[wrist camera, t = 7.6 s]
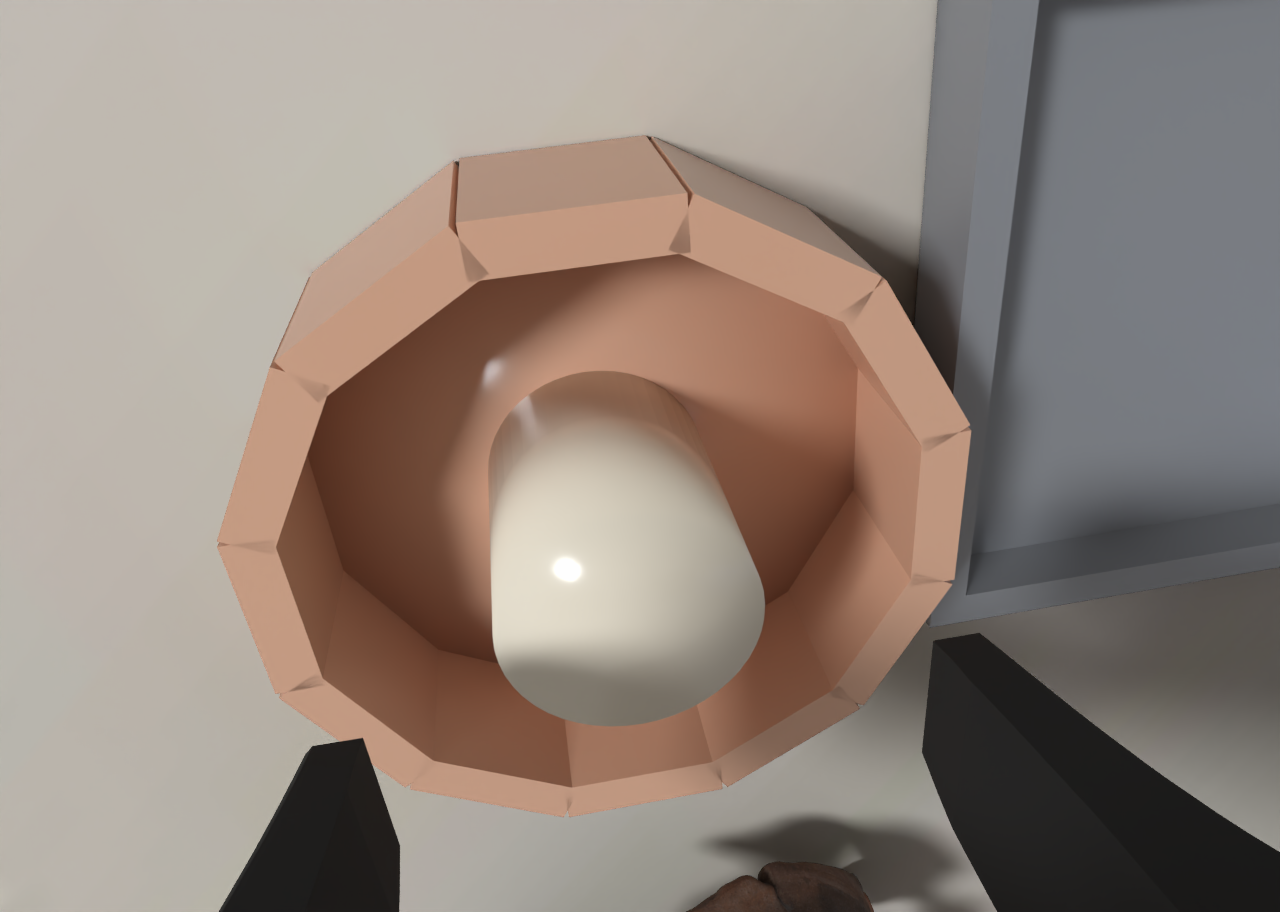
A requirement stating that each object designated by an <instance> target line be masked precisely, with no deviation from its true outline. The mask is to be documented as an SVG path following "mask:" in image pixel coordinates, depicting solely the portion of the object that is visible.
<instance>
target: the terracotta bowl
mask: <svg viewBox="0 0 1280 912" xmlns="http://www.w3.org/2000/svg"><path fill="white" fill-rule="evenodd" d="M588 371H616V372H622V373H629V374H632V375H635V376H639V377H642V378H644V379H647V380H649V381H651V382H654V383H655V384H657V385H659V386H660V387H662V388H664V389H665V390H667V391H668V392H669V393H670V394H672V395H673V396H674V397H675V398H676V399H677V400H678V401H679V402H680V403H681V404H682V405H683V406H684V407H685V409H686V410H687V412H688V413H689V415H690V416H691V418H692V420H693V422H694V424H695V426H696V428H697V430H698V433H699V435H700V437H701V440H702V442H703V445H704V447H705V449H706V452H707V454H708V456H709V459H710V461H711V463H712V466H713V468H714V470H715V473H716V475H717V478H718V480H719V482H720V485H721V487H722V489H723V492H724V494H725V496H726V499H727V501H728V503H729V506H730V508H731V511H732V513H733V515H734V518H735V520H736V522H737V525H738V527H739V529H740V532H741V534H742V536H743V539H744V541H745V544H746V546H747V548H748V551H749V553H750V555H751V558H752V560H753V562H754V565H755V567H756V570H757V572H758V574H759V577H760V579H761V583H762V587H763V590H764V598H765V616H764V622H763V627H762V631H761V634H760V637H759V639H758V642H757V644H756V646H755V648H754V650H753V652H752V654H751V655H750V657H749V659H748V660H747V661H746V663H745V664H744V665H743V667H742V668H741V670H740V671H739V672H738V673H737V674H736V675H735V676H734V677H733V678H732V679H731V680H730V681H729V682H728V683H727V684H726V685H725V686H723V687H722V688H721V689H720V690H719V691H718V692H716V693H715V694H713V695H712V696H710V697H709V698H707V699H706V700H704V701H703V702H701V703H699V704H697V705H695V706H694V707H692V708H690V709H687V710H685V711H683V712H681V713H678V714H676V715H673V716H670V717H667V718H664V719H661V720H657V721H653V722H648V723H644V724H637V725H629V726H594V725H588V724H582V723H576V722H573V721H569V720H565V719H562V718H559V717H557V716H555V715H552V714H550V713H547V712H546V711H544V710H542V709H540V708H538V707H537V706H535V705H533V704H532V703H531V702H529V701H528V700H527V699H525V698H524V697H523V696H522V695H521V694H520V693H519V692H518V691H517V690H516V689H515V688H514V687H513V686H512V685H511V683H510V682H509V681H508V679H507V678H506V677H505V675H504V673H503V671H502V669H501V667H500V665H499V663H498V660H497V657H496V654H495V651H494V643H493V633H492V596H491V560H490V524H489V488H488V461H489V455H490V450H491V446H492V443H493V440H494V437H495V435H496V433H497V431H498V429H499V427H500V425H501V424H502V422H503V421H504V419H505V418H506V417H507V415H508V414H509V412H510V411H511V410H512V409H513V408H514V407H515V406H516V405H517V404H518V403H519V402H520V401H521V400H523V399H524V398H525V397H526V396H528V395H529V394H530V393H532V392H533V391H535V390H536V389H538V388H540V387H541V386H543V385H545V384H547V383H549V382H551V381H554V380H556V379H559V378H562V377H565V376H568V375H571V374H576V373H581V372H588ZM968 426H970V424H969V422H968V420H967V418H966V417H965V415H964V413H963V412H962V410H961V408H960V406H959V405H958V403H957V401H956V400H955V398H954V396H953V394H952V393H951V391H950V389H949V387H948V386H947V384H946V382H945V381H944V379H943V377H942V375H941V374H940V372H939V370H938V368H937V367H936V365H935V363H934V362H933V360H932V358H931V356H930V355H929V353H928V351H927V350H926V348H925V346H924V344H923V343H922V341H921V339H920V337H919V336H918V334H917V332H916V331H915V329H914V327H913V325H912V324H911V322H910V320H909V318H908V317H907V315H906V313H905V312H904V310H903V308H902V306H901V305H900V303H899V301H898V299H897V298H896V296H895V294H894V293H893V291H892V289H891V287H890V286H889V284H888V282H887V281H886V280H885V279H884V278H883V277H882V276H881V275H880V274H879V273H878V272H876V271H875V270H874V269H873V268H872V267H871V266H870V265H869V264H868V263H867V262H866V261H865V260H864V259H862V258H861V257H860V256H859V255H858V254H857V253H856V252H855V251H854V250H853V249H852V248H851V247H849V246H848V245H847V244H846V243H845V242H844V241H843V240H842V239H841V238H840V237H839V236H838V235H836V234H835V233H834V232H833V231H832V230H831V229H830V228H829V227H828V226H827V225H826V224H825V223H823V222H822V221H821V220H820V219H819V218H818V217H817V216H816V215H815V214H814V213H813V212H812V211H810V210H809V209H808V208H807V207H805V206H803V205H801V204H799V203H796V202H794V201H792V200H790V199H788V198H785V197H783V196H781V195H779V194H777V193H775V192H772V191H770V190H768V189H766V188H764V187H761V186H759V185H757V184H755V183H753V182H751V181H748V180H746V179H744V178H742V177H740V176H738V175H735V174H733V173H731V172H729V171H727V170H724V169H722V168H720V167H718V166H716V165H714V164H711V163H709V162H707V161H705V160H703V159H700V158H698V157H696V156H694V155H692V154H690V153H687V152H685V151H683V150H681V149H679V148H676V147H674V146H672V145H670V144H668V143H666V142H663V141H661V140H659V139H657V138H655V137H651V139H650V141H649V139H648V138H647V137H646V135H644V136H636V137H627V138H619V139H611V140H603V141H595V142H587V143H579V144H571V145H562V146H554V147H546V148H538V149H530V150H522V151H514V152H506V153H497V154H489V155H481V156H473V157H465V158H459V167H458V166H457V164H456V163H455V162H454V161H452V162H451V163H450V164H449V165H447V166H446V167H445V168H444V169H442V170H441V171H440V172H438V173H437V174H436V175H435V176H433V177H432V178H431V179H430V180H428V181H427V182H426V183H425V184H423V185H422V186H421V187H420V188H418V189H417V190H416V191H415V192H413V193H412V194H411V195H409V196H408V197H407V198H406V199H404V200H403V201H402V202H401V203H399V204H398V205H397V206H396V207H394V208H393V209H392V210H391V211H389V212H388V213H387V214H386V215H384V216H383V217H382V218H380V219H379V220H378V221H377V222H375V223H374V224H373V225H372V226H370V227H369V228H368V229H367V230H365V231H364V232H363V233H362V234H360V235H359V236H358V237H357V238H355V239H354V240H353V241H351V242H350V243H349V244H348V245H346V246H345V247H344V248H343V249H341V250H340V251H339V252H338V253H336V254H335V255H334V256H333V257H331V258H330V259H329V260H328V261H326V262H325V263H324V264H322V265H321V266H320V267H319V268H317V269H316V270H315V271H314V272H312V275H311V277H309V279H308V281H307V283H306V286H305V288H304V290H303V292H302V295H301V297H300V299H299V302H298V304H297V306H296V309H295V311H294V313H293V315H292V318H291V320H290V322H289V325H288V327H287V329H286V331H285V334H284V336H283V338H282V341H281V343H280V345H279V347H278V350H277V352H276V354H275V357H274V359H273V361H272V363H271V366H270V368H269V372H268V375H267V378H266V382H265V385H264V388H263V391H262V395H261V398H260V401H259V405H258V408H257V411H256V414H255V418H254V421H253V424H252V428H251V431H250V434H249V437H248V441H247V444H246V447H245V451H244V454H243V457H242V460H241V464H240V467H239V470H238V474H237V477H236V480H235V483H234V487H233V490H232V493H231V497H230V500H229V503H228V506H227V510H226V513H225V516H224V520H223V523H222V526H221V529H220V533H219V536H218V539H217V542H219V544H218V546H217V548H218V550H219V553H220V555H221V558H222V560H223V563H224V565H225V568H226V570H227V573H228V575H229V578H230V581H231V583H232V586H233V588H234V591H235V593H236V596H237V598H238V601H239V603H240V606H241V608H242V611H243V613H244V616H245V618H246V621H247V623H248V626H249V628H250V631H251V633H252V636H253V638H254V641H255V643H256V646H257V648H258V651H259V653H260V656H261V658H262V661H263V663H264V666H265V668H266V671H267V673H268V676H269V678H270V681H271V684H272V686H273V689H274V691H275V694H279V693H280V696H279V698H280V699H281V700H282V701H284V702H285V703H287V704H288V705H289V706H291V707H292V708H294V709H295V710H297V711H298V712H299V713H301V714H302V715H304V716H305V717H306V718H308V719H309V720H311V721H312V722H313V723H315V724H316V725H318V726H319V727H321V728H322V729H323V730H325V731H326V732H328V733H329V734H330V735H332V736H333V737H335V738H336V739H337V740H339V741H340V742H341V741H347V740H353V739H358V738H363V739H364V742H365V745H366V748H367V751H368V754H369V757H370V760H371V763H372V764H373V765H374V766H376V767H377V768H378V769H380V770H381V771H383V772H384V773H385V774H387V775H388V776H390V777H391V778H393V779H394V780H395V781H397V782H398V783H400V784H401V785H402V786H404V787H406V786H408V785H410V789H411V790H416V791H422V792H427V793H433V794H438V795H444V796H449V797H455V798H460V799H466V800H471V801H477V802H483V803H488V804H494V805H499V806H505V807H510V808H516V809H521V810H527V811H532V812H538V813H543V814H549V815H554V816H560V817H564V816H565V814H566V812H567V811H568V814H569V817H573V816H578V815H583V814H589V813H594V812H600V811H605V810H611V809H616V808H621V807H627V806H632V805H638V804H643V803H649V802H654V801H659V800H665V799H670V798H676V797H681V796H687V795H692V794H697V793H703V792H708V791H714V790H719V789H722V782H723V783H724V784H725V785H726V786H727V787H728V786H730V785H732V784H733V783H735V782H737V781H739V780H740V779H742V778H744V777H745V776H747V775H749V774H750V773H752V772H754V771H755V770H757V769H759V768H761V767H762V766H764V765H766V764H767V763H769V762H771V761H772V760H774V759H776V758H777V757H779V756H781V755H783V754H784V753H786V752H788V751H789V750H791V749H793V748H794V747H796V746H798V745H799V744H801V743H803V742H804V741H806V740H808V739H810V738H811V737H813V736H815V735H816V734H818V733H820V732H821V731H823V730H825V729H826V728H828V727H830V726H832V725H833V724H835V723H837V722H838V721H840V720H842V719H843V718H845V717H847V716H848V715H850V714H852V713H854V712H855V711H857V710H859V709H860V708H859V706H858V704H861V705H864V704H865V703H866V702H867V700H868V699H869V697H870V696H871V695H872V693H873V692H874V691H875V689H876V688H877V687H878V685H879V684H880V682H881V681H882V680H883V678H884V677H885V676H886V674H887V673H888V672H889V670H890V669H891V667H892V666H893V665H894V663H895V662H896V661H897V659H898V658H899V657H900V655H901V654H902V652H903V651H904V650H905V648H906V647H907V646H908V644H909V643H910V642H911V640H912V639H913V637H914V636H915V635H916V633H917V632H918V631H919V629H920V628H921V627H922V625H923V624H924V622H925V621H926V620H927V618H928V617H929V616H930V614H931V613H932V612H933V610H934V609H935V607H936V606H937V605H938V603H939V602H940V601H941V599H942V598H943V597H944V595H945V594H946V592H947V591H948V590H949V588H950V587H951V586H952V583H951V582H950V580H954V579H955V570H956V561H957V552H958V544H959V535H960V526H961V517H962V508H963V500H964V491H965V482H966V473H967V464H968V456H969V447H970V438H971V430H970V428H969V427H968Z"/></svg>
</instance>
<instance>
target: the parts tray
mask: <svg viewBox="0 0 1280 912" xmlns="http://www.w3.org/2000/svg"><path fill="white" fill-rule="evenodd" d="M914 329H915V331H916V332H917V334H918V336H919V337H920V339H921V341H922V343H923V344H924V346H925V348H926V350H927V351H928V353H929V355H930V356H931V358H932V360H933V362H934V363H935V365H936V367H937V368H938V370H939V372H940V374H941V375H942V377H943V379H944V381H945V382H946V384H947V386H948V387H949V389H950V391H951V393H952V394H953V396H954V398H955V400H956V401H957V403H958V405H959V406H960V408H961V410H962V412H963V413H964V415H965V417H966V418H967V420H968V422H969V424H970V426H968V427H969V428H970V430H971V438H970V447H969V456H968V464H967V473H966V482H965V491H964V500H963V508H962V517H961V526H960V535H959V544H958V552H957V561H956V570H955V579H954V580H950V582H951V583H952V586H951V587H950V588H949V590H948V591H947V592H946V594H945V595H944V597H943V598H942V599H941V601H940V602H939V603H938V605H937V606H936V607H935V609H934V610H933V612H932V613H931V614H930V616H929V617H928V618H927V620H926V622H927V624H928V625H929V627H930V628H931V627H937V626H942V625H948V624H954V623H960V622H966V621H971V620H977V619H983V618H989V617H995V616H1000V615H1006V614H1012V613H1018V612H1023V611H1029V610H1035V609H1041V608H1047V607H1052V606H1058V605H1064V604H1070V603H1076V602H1081V601H1087V600H1093V599H1099V598H1105V597H1110V596H1116V595H1122V594H1128V593H1133V592H1139V591H1145V590H1151V589H1157V588H1162V587H1168V586H1174V585H1180V584H1186V583H1191V582H1197V581H1203V580H1209V579H1215V578H1220V577H1226V576H1232V575H1238V574H1243V573H1249V572H1255V571H1261V570H1267V569H1272V568H1278V567H1280V0H938V5H937V18H936V32H935V46H934V60H933V74H932V88H931V101H930V115H929V129H928V143H927V157H926V171H925V184H924V198H923V212H922V226H921V240H920V254H919V267H918V281H917V295H916V309H915V323H914Z"/></svg>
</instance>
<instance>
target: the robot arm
mask: <svg viewBox="0 0 1280 912" xmlns="http://www.w3.org/2000/svg"><path fill="white" fill-rule="evenodd" d="M922 753H923V756H924V758H925V761H926V763H927V766H928V769H929V771H930V774H931V776H932V779H933V782H934V784H935V787H936V789H937V792H938V794H939V797H940V799H941V802H942V804H943V807H944V809H945V811H946V814H947V816H948V819H949V821H950V824H951V826H952V828H953V830H954V832H955V834H956V836H957V838H958V840H959V841H960V843H961V845H962V847H963V849H964V851H965V853H966V855H967V857H968V858H969V860H970V862H971V864H972V866H973V868H974V870H975V871H976V873H977V875H978V877H979V879H980V881H981V883H982V884H983V886H984V888H985V890H986V892H987V894H988V895H989V897H990V899H991V901H992V903H993V905H994V906H995V908H996V910H997V912H1280V852H1279V851H1277V850H1275V849H1274V848H1272V847H1270V846H1269V845H1267V844H1265V843H1264V842H1262V841H1260V840H1259V839H1257V838H1256V837H1254V836H1252V835H1251V834H1249V833H1247V832H1246V831H1244V830H1243V829H1241V828H1240V827H1238V826H1236V825H1235V824H1233V823H1232V822H1230V821H1229V820H1227V819H1226V818H1224V817H1222V816H1221V815H1219V814H1218V813H1216V812H1215V811H1213V810H1212V809H1210V808H1209V807H1208V806H1206V805H1205V804H1203V803H1202V802H1200V801H1199V800H1197V799H1196V798H1194V797H1193V796H1191V795H1190V794H1189V793H1187V792H1186V791H1184V790H1183V789H1181V788H1180V787H1178V786H1177V785H1175V784H1174V783H1173V782H1171V781H1170V780H1168V779H1167V778H1165V777H1164V776H1162V775H1161V774H1160V773H1158V772H1157V771H1156V770H1154V769H1153V768H1151V767H1150V766H1149V765H1147V764H1146V763H1144V762H1143V761H1142V760H1140V759H1139V758H1138V757H1136V756H1135V755H1134V754H1132V753H1131V752H1130V751H1128V750H1127V749H1126V748H1124V747H1123V746H1122V745H1120V744H1119V743H1118V742H1116V741H1115V740H1114V739H1112V738H1111V737H1110V736H1109V735H1107V734H1106V733H1105V732H1103V731H1102V730H1101V729H1099V728H1098V727H1097V726H1095V725H1094V724H1093V723H1091V722H1090V721H1089V720H1088V719H1086V718H1085V717H1084V716H1082V715H1081V714H1080V713H1079V712H1077V711H1076V710H1075V709H1073V708H1072V707H1071V706H1070V705H1068V704H1067V703H1066V702H1065V701H1063V700H1062V699H1061V698H1060V697H1058V696H1057V695H1056V694H1055V693H1053V692H1052V691H1051V690H1050V689H1048V688H1047V687H1046V686H1045V685H1043V684H1042V683H1041V682H1040V681H1038V680H1037V679H1036V678H1035V677H1033V676H1032V675H1031V674H1030V673H1029V672H1027V671H1026V670H1025V669H1024V668H1022V667H1021V666H1020V665H1019V664H1017V663H1016V662H1015V661H1014V660H1012V659H1011V658H1010V657H1009V656H1008V655H1006V654H1005V653H1004V652H1003V651H1001V650H1000V649H999V648H998V647H996V646H995V645H994V644H993V643H991V642H990V641H989V640H987V639H986V638H985V637H984V636H982V635H981V634H980V633H976V634H971V635H965V636H959V637H953V638H947V639H941V640H935V641H933V650H932V660H931V669H930V679H929V689H928V699H927V709H926V718H925V728H924V738H923V748H922ZM399 896H400V845H399V842H398V839H397V836H396V833H395V830H394V827H393V824H392V821H391V818H390V815H389V812H388V810H387V807H386V804H385V801H384V798H383V795H382V792H381V789H380V786H379V783H378V780H377V777H376V774H375V771H374V769H373V766H372V763H371V760H370V757H369V754H368V751H367V748H366V745H365V742H364V739H363V738H358V739H353V740H347V741H341V742H335V743H329V744H323V745H317V746H312V747H311V749H310V750H309V751H308V752H307V753H306V754H305V756H304V758H303V760H302V762H301V764H300V766H299V768H298V770H297V772H296V774H295V776H294V778H293V780H292V782H291V783H290V785H289V787H288V789H287V791H286V793H285V795H284V797H283V799H282V801H281V803H280V805H279V806H278V808H277V810H276V812H275V814H274V816H273V818H272V819H271V821H270V823H269V825H268V827H267V829H266V830H265V832H264V834H263V836H262V838H261V839H260V841H259V843H258V845H257V847H256V849H255V850H254V852H253V854H252V856H251V858H250V859H249V861H248V863H247V864H246V866H245V868H244V869H243V871H242V873H241V875H240V876H239V878H238V880H237V881H236V883H235V885H234V887H233V888H232V890H231V892H230V893H229V895H228V897H227V899H226V900H225V902H224V904H223V905H222V907H221V909H220V910H219V912H399Z"/></svg>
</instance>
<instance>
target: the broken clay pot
mask: <svg viewBox="0 0 1280 912" xmlns="http://www.w3.org/2000/svg"><path fill="white" fill-rule="evenodd" d="M687 912H874V910H873V908H872V905H871V903H870V901H869V899H868V896H867V895H866V894H865V893H864V892H863V890H862V886H861V884H860V882H859V880H858V879H857V878H856V876H855V875H854V874H853V873H849V872H847V871H844V870H842V869H839V868H835V867H831V866H825V865H822V864H816V863H808V862H797V863H787V862H780V861H778V862H772V863H769V864H767V865H766V866H764V867H763V868H762V869H761V871H760V872H759V874H758V880H757V879H756V878H754V877H752V876H749V875H745V876H741V877H739V878H737V879H735V880H734V881H732V882H730V883H727V884H725V885H724V886H722V887H721V888H720V889H719V890H718V891H717V892H716V893H715V894H713V895H712V896H710V897H708V898H707V899H706V900H704V901H703V902H701V903H700V904H699V905H697V906H696V907H694V908H693V909H691V910H689V911H687Z"/></svg>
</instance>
